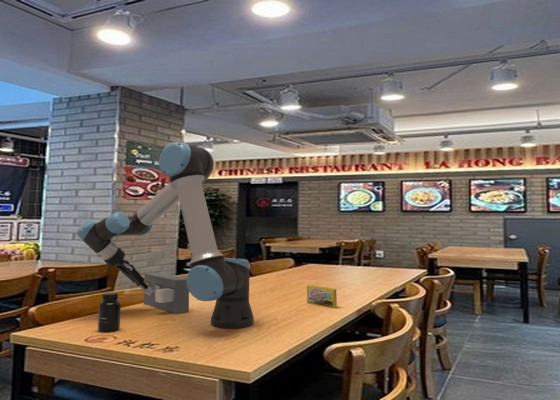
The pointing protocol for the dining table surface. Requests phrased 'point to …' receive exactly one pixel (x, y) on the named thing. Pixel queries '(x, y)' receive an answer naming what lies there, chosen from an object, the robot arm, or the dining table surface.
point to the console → (168, 281)
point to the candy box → (321, 296)
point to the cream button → (164, 295)
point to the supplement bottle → (109, 313)
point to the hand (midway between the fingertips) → (150, 292)
